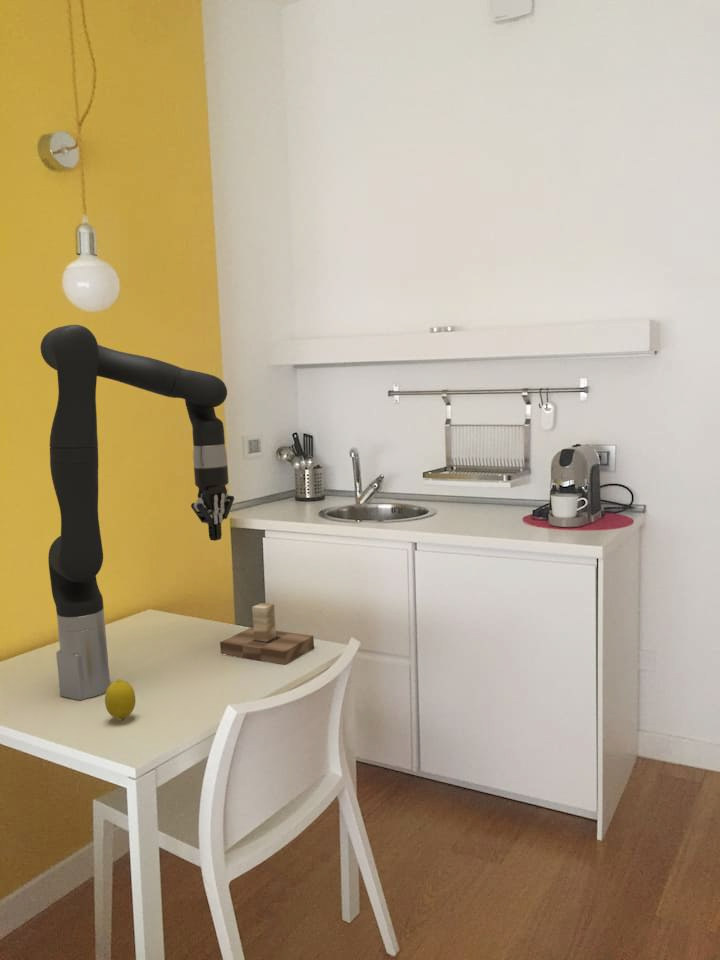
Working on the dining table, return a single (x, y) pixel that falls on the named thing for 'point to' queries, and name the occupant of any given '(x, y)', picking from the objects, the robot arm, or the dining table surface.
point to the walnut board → (268, 647)
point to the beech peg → (264, 623)
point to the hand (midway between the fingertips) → (215, 539)
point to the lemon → (120, 699)
